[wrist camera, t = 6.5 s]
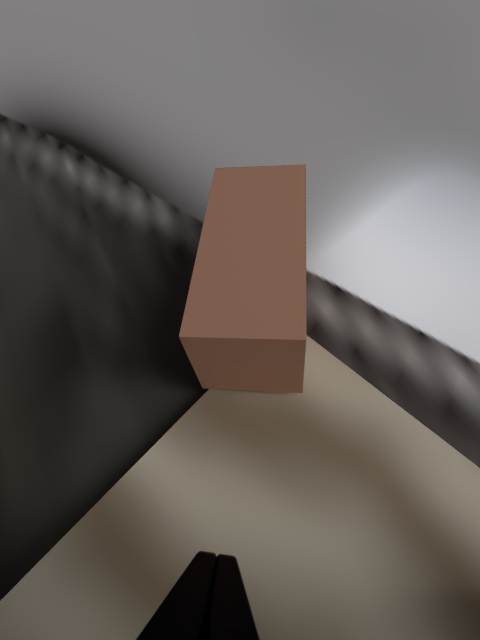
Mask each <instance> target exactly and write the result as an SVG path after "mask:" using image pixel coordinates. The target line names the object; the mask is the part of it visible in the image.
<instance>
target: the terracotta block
mask: <svg viewBox="0 0 480 640" xmlns="http://www.w3.org/2000/svg"><path fill="white" fill-rule="evenodd" d="M179 338H180V340H181V343H182V345H183V347H184V349H185V351H186V354H187V356H188V358H189V360H190V362H191V364H192V367H193V369H194V371H195V373H196V375H197V378H198V380H199V382H200V384H201V386H202V388H203V389H222V390H245V391H267V392H289V393H303V380H304V366H305V352H306V165H282V166H257V167H232V168H215V172H214V177H213V181H212V186H211V190H210V195H209V200H208V204H207V209H206V214H205V218H204V223H203V227H202V232H201V237H200V241H199V246H198V251H197V255H196V260H195V264H194V269H193V274H192V278H191V283H190V287H189V292H188V297H187V301H186V306H185V311H184V315H183V320H182V324H181V329H180V334H179Z"/></svg>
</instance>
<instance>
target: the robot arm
mask: <svg viewBox="0 0 480 640" xmlns="http://www.w3.org/2000/svg"><path fill="white" fill-rule="evenodd" d="M136 640H260V638H259V635H258V631H257V628H256V624H255V621H254V617H253V614H252V610H251V607H250V603H249V600H248V596H247V593H246V589H245V586H244V582H243V579H242V575H241V572H240V569H239V565H238V562H237V559H236V557H235V556H233V555H226V554H218V556H216V554H215V553H213V552H207V551H199V552H198V553H197V554H196V555H195V556H194V558H193V559H192V561H191V562H190V563H189V565H188V566H187V568H186V569H185V571H184V572H183V573H182V575H181V576H180V578H179V579H178V580H177V582H176V583H175V585H174V586H173V588H172V589H171V590H170V592H169V593H168V595H167V596H166V597H165V599H164V600H163V602H162V603H161V605H160V606H159V607H158V609H157V610H156V612H155V613H154V614H153V616H152V617H151V619H150V620H149V622H148V623H147V624H146V626H145V627H144V629H143V630H142V631H141V633H140V634H139V636H138V637H137V639H136Z"/></svg>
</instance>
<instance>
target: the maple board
mask: <svg viewBox="0 0 480 640" xmlns="http://www.w3.org/2000/svg"><path fill="white" fill-rule="evenodd" d="M199 551H207V552H213V553H215V554H216V556H218V554H226V555H233V556H235V557H236V559H237V562H238V565H239V569H240V572H241V575H242V579H243V582H244V586H245V589H246V593H247V596H248V600H249V603H250V607H251V610H252V614H253V617H254V621H255V624H256V628H257V631H258V635H259V638H260V640H480V468H479V467H477V466H476V465H475V464H474V463H472V462H471V461H470V460H468V459H467V458H466V457H464V456H463V455H462V454H461V453H459V452H458V451H457V450H455V449H454V448H453V447H451V446H450V445H449V444H448V443H446V442H445V441H444V440H442V439H441V438H440V437H438V436H437V435H436V434H435V433H433V432H432V431H431V430H429V429H428V428H427V427H425V426H424V425H423V424H422V423H420V422H419V421H418V420H416V419H415V418H414V417H412V416H411V415H410V414H409V413H407V412H406V411H405V410H403V409H402V408H401V407H399V406H398V405H397V404H396V403H394V402H393V401H392V400H390V399H389V398H388V397H386V396H385V395H384V394H383V393H381V392H380V391H379V390H377V389H376V388H375V387H373V386H372V385H371V384H370V383H368V382H367V381H366V380H364V379H363V378H362V377H360V376H359V375H358V374H357V373H355V372H354V371H353V370H351V369H350V368H349V367H347V366H346V365H345V364H344V363H342V362H341V361H340V360H338V359H337V358H336V357H334V356H333V355H332V354H331V353H329V352H328V351H327V350H325V349H324V348H323V347H321V346H320V345H319V344H318V343H316V342H315V341H314V340H312V339H311V338H310V337H308V336H307V335H306V352H305V366H304V380H303V393H289V392H267V391H245V390H222V389H209V390H208V391H207V392H206V393H205V394H204V395H203V396H202V397H201V398H200V399H199V400H198V401H197V402H196V403H195V404H194V405H193V406H192V407H191V408H190V409H189V410H188V411H187V412H186V413H185V414H184V415H183V416H182V417H181V418H180V419H179V420H178V421H177V422H176V423H175V424H174V425H173V426H172V427H171V428H170V429H169V430H168V431H167V432H166V433H165V434H164V435H163V436H162V437H161V438H160V439H159V440H158V441H157V442H156V444H155V445H154V446H153V447H152V448H151V449H150V450H149V451H148V452H147V453H146V454H145V455H144V456H143V457H142V458H141V459H140V460H139V461H138V462H137V463H136V464H135V465H134V466H133V467H132V468H131V469H130V470H129V471H128V472H127V473H126V474H125V475H124V476H123V477H122V478H121V479H120V480H119V481H118V482H117V483H116V484H115V485H114V486H113V487H112V488H111V489H110V490H109V491H108V492H107V493H106V494H105V495H104V496H103V497H102V498H101V499H100V500H99V501H98V502H97V503H96V504H95V505H94V506H93V507H92V508H91V509H90V510H89V511H88V512H87V513H86V514H85V515H84V516H83V517H82V519H81V520H80V521H79V522H78V523H77V524H76V525H75V526H74V527H73V528H72V529H71V530H70V531H69V532H68V533H67V534H66V535H65V536H64V537H63V538H62V539H61V540H60V541H59V542H58V543H57V544H56V545H55V546H54V547H53V548H52V549H51V550H50V551H49V552H48V553H47V554H46V555H45V556H44V557H43V558H42V559H41V560H40V561H39V562H38V563H37V564H36V565H35V566H34V567H33V568H32V569H31V570H30V571H29V572H28V573H27V574H26V575H25V576H24V577H23V578H22V579H21V580H20V581H19V582H18V583H17V584H16V585H15V586H14V587H13V588H12V589H11V590H10V591H9V593H8V594H7V595H6V596H5V597H4V598H3V599H2V600H1V601H0V640H136V639H137V637H138V636H139V634H140V633H141V631H142V630H143V629H144V627H145V626H146V624H147V623H148V622H149V620H150V619H151V617H152V616H153V614H154V613H155V612H156V610H157V609H158V607H159V606H160V605H161V603H162V602H163V600H164V599H165V597H166V596H167V595H168V593H169V592H170V590H171V589H172V588H173V586H174V585H175V583H176V582H177V580H178V579H179V578H180V576H181V575H182V573H183V572H184V571H185V569H186V568H187V566H188V565H189V563H190V562H191V561H192V559H193V558H194V556H195V555H196V554H197V553H198V552H199Z"/></svg>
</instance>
